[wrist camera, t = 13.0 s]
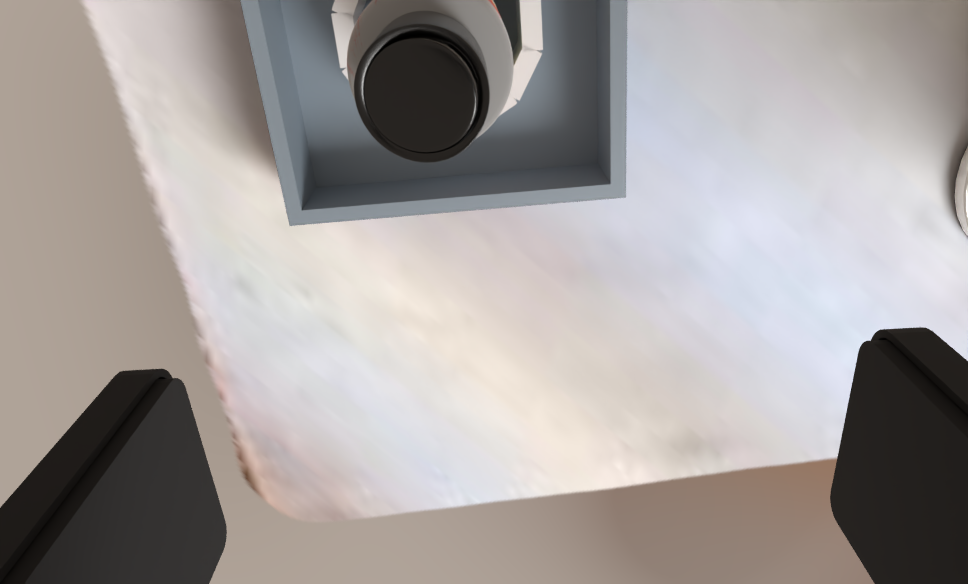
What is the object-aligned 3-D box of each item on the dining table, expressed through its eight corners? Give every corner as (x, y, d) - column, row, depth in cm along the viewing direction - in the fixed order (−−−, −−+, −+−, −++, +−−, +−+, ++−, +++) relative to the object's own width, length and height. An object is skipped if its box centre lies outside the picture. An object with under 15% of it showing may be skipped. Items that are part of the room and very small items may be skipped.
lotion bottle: (519, 36, 37) (566, 119, 19) (436, 102, 39) (407, 236, 21) (453, -60, 35) (436, -66, 17) (368, 14, 37) (270, 79, 19)
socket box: (607, -193, 34) (628, -215, 29) (609, 170, 42) (625, 197, 37) (237, -157, 34) (202, -173, 30) (309, 196, 42) (289, 225, 37)
